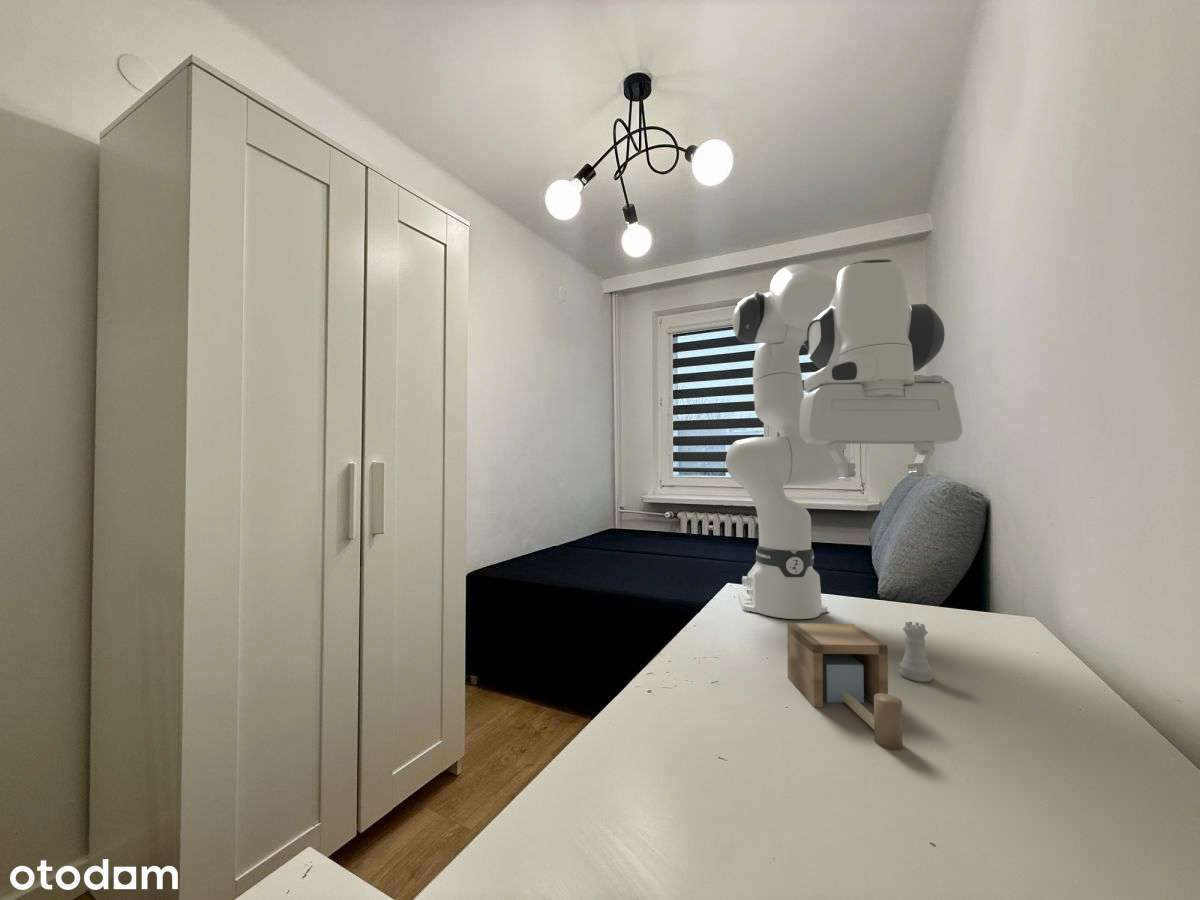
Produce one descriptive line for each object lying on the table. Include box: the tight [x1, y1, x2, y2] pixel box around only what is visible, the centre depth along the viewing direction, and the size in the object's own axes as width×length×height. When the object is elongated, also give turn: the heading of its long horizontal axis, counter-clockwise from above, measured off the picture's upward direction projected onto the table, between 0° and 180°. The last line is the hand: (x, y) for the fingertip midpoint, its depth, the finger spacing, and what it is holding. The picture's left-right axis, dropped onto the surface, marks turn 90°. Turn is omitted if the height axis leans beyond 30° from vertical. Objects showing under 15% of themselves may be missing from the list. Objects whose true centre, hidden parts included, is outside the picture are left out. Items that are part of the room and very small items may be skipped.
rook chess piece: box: [898, 621, 934, 683], centre depth 76 cm, size 4×4×8 cm
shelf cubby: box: [786, 622, 889, 708], centre depth 71 cm, size 9×10×8 cm
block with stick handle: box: [823, 654, 903, 751], centre depth 64 cm, size 16×5×5 cm, turn 0°
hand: (882, 477), depth 65 cm, fingers open, 8 cm apart
